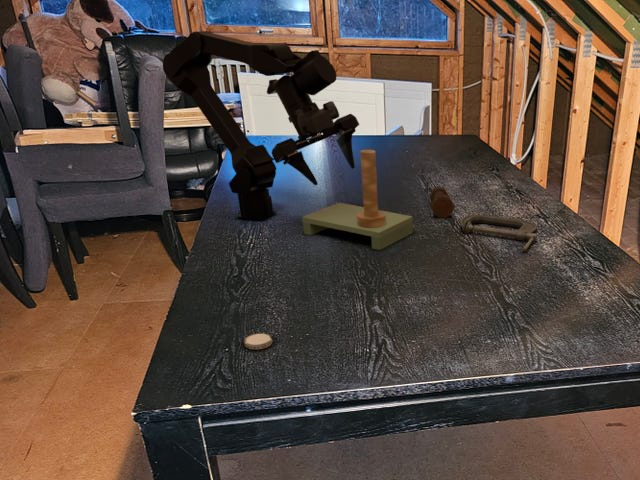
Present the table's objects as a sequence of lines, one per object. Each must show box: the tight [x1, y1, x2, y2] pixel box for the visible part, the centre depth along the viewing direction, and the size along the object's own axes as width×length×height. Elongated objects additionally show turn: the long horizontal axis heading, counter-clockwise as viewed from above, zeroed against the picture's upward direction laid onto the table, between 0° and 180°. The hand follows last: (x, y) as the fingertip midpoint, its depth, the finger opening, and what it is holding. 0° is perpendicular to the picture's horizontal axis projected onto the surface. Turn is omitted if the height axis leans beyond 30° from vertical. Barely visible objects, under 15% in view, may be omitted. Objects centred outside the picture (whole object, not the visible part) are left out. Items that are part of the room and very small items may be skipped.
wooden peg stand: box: [357, 149, 386, 228], centre depth 135 cm, size 6×6×15 cm
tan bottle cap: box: [243, 333, 273, 350], centre depth 99 cm, size 4×4×1 cm
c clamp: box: [459, 214, 538, 252], centre depth 146 cm, size 20×17×3 cm
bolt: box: [428, 186, 456, 219], centre depth 161 cm, size 6×5×15 cm
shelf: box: [301, 202, 414, 251], centre depth 143 cm, size 20×13×4 cm, turn 63°
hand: (335, 176), depth 139 cm, fingers open, 9 cm apart
